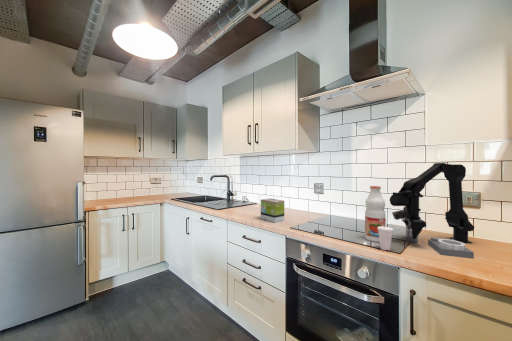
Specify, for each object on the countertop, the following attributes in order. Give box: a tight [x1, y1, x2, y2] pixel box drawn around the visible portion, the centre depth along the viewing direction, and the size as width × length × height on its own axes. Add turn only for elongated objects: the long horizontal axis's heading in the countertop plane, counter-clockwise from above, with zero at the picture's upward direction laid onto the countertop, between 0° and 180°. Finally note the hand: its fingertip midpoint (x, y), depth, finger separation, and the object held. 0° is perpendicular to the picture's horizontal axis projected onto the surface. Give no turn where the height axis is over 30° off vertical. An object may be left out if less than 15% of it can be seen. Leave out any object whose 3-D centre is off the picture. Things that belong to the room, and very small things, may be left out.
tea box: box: [260, 198, 285, 224], centre depth 157 cm, size 15×10×15 cm, turn 42°
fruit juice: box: [364, 185, 386, 243], centre depth 114 cm, size 9×9×28 cm
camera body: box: [427, 236, 475, 259], centre depth 99 cm, size 14×11×4 cm
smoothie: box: [378, 217, 394, 251], centre depth 100 cm, size 6×6×14 cm
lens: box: [405, 225, 419, 245], centre depth 110 cm, size 5×5×8 cm
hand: (411, 236), depth 110 cm, fingers open, 7 cm apart
